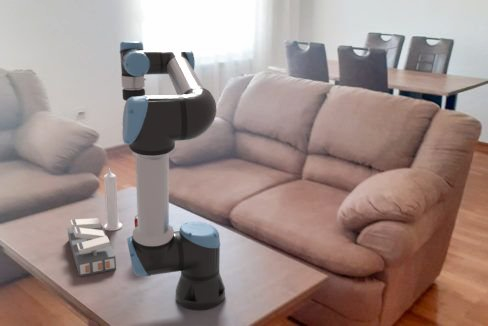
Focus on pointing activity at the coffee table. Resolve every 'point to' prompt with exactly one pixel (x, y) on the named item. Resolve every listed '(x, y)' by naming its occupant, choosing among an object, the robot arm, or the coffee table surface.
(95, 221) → the rocker far
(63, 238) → the coffee table surface
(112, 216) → the candle
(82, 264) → the console
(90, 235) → the rocker mid
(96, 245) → the rocker near
